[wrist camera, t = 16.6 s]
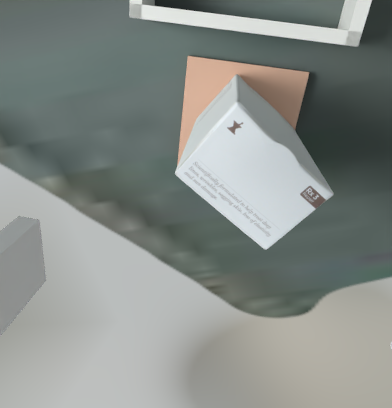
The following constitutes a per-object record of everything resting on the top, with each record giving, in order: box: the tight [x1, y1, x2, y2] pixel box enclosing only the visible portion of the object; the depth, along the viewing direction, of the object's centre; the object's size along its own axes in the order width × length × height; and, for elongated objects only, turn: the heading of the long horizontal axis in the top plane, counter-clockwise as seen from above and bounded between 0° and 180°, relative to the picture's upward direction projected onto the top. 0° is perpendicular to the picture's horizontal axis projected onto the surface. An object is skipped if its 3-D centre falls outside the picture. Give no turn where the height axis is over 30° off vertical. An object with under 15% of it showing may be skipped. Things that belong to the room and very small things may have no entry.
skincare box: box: [175, 74, 334, 249], centre depth 27 cm, size 8×6×15 cm
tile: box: [177, 56, 309, 166], centre depth 34 cm, size 11×11×1 cm
